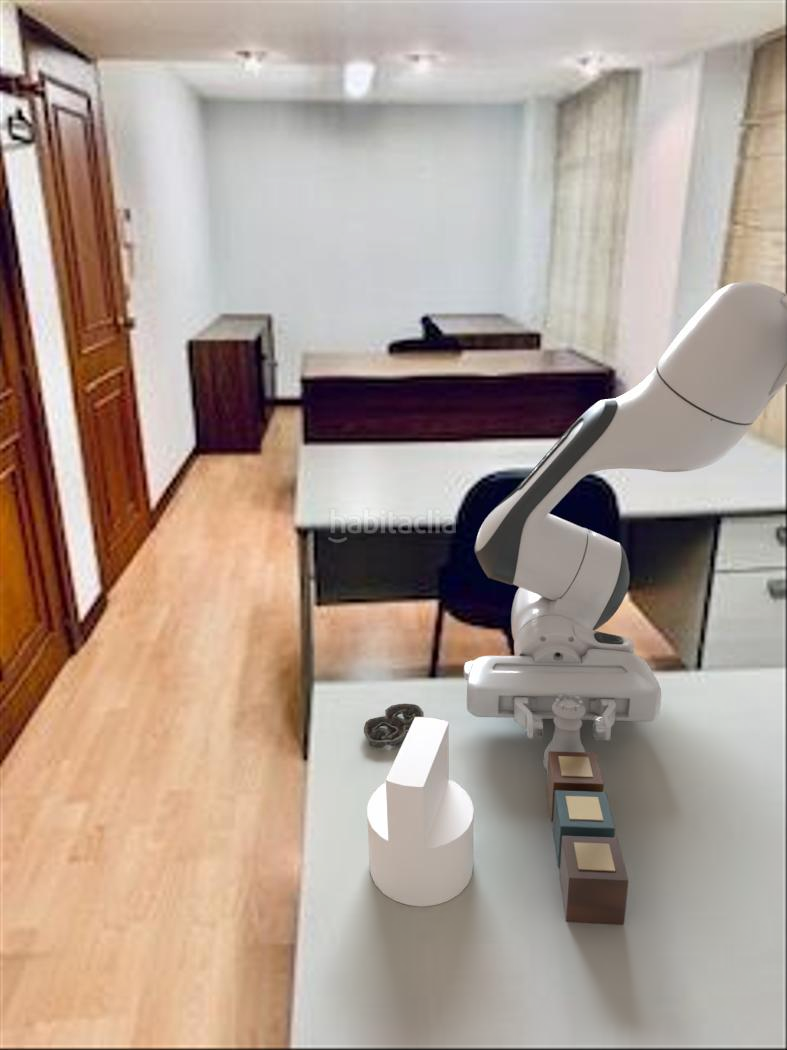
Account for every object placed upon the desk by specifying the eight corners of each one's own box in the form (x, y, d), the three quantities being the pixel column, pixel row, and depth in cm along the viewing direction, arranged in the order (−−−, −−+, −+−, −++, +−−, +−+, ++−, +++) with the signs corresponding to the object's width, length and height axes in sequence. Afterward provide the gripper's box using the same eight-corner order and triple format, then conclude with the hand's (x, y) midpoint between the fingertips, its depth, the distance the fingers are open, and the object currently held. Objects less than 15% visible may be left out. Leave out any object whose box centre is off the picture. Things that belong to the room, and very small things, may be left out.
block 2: (613, 879, 64) (617, 836, 62) (624, 924, 60) (628, 879, 58) (559, 877, 64) (562, 834, 63) (565, 921, 60) (568, 877, 58)
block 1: (593, 790, 74) (596, 751, 72) (600, 823, 70) (604, 783, 68) (546, 788, 74) (548, 750, 73) (551, 821, 70) (553, 781, 69)
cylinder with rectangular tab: (460, 917, 61) (461, 796, 56) (355, 893, 63) (347, 775, 59) (482, 837, 69) (483, 725, 65) (387, 818, 71) (383, 710, 67)
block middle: (602, 831, 69) (606, 790, 67) (611, 870, 65) (615, 827, 63) (552, 829, 69) (554, 788, 68) (558, 867, 65) (560, 825, 64)
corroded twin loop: (434, 721, 85) (434, 713, 85) (387, 756, 80) (386, 748, 79) (400, 704, 88) (400, 697, 88) (353, 737, 83) (352, 729, 82)
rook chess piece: (534, 760, 78) (537, 694, 76) (570, 749, 80) (574, 683, 77) (559, 787, 75) (563, 718, 72) (596, 774, 76) (602, 706, 73)
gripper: (463, 635, 88) (463, 703, 75) (645, 638, 86) (677, 709, 73) (463, 682, 90) (463, 756, 77) (641, 686, 88) (671, 763, 75)
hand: (569, 733), depth 75 cm, fingers open, 5 cm apart
